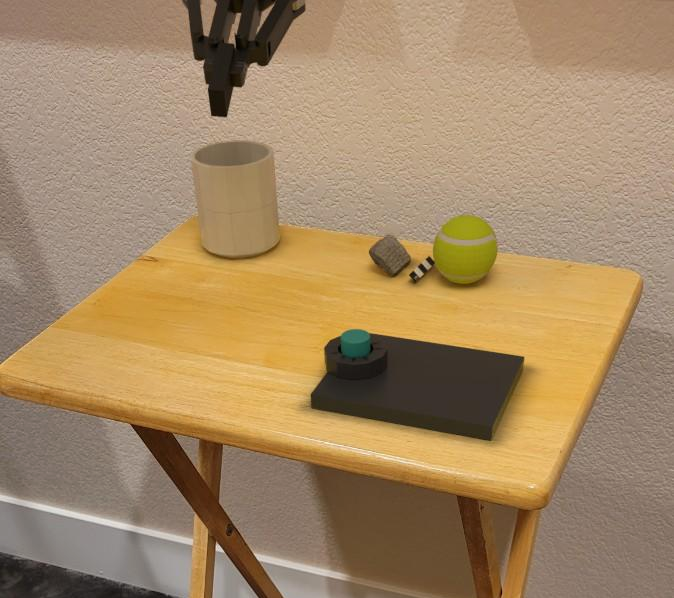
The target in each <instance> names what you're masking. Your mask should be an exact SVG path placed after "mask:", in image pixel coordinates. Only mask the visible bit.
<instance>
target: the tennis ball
mask: <svg viewBox="0 0 674 598" xmlns="http://www.w3.org/2000/svg"><path fill="white" fill-rule="evenodd" d="M498 249H499V248H498V239H497V236H496V232H495V231H494V229H493V228H492V226H491V225H490V224H489V223H488V222H487V221H486V220H485V219H483V218H481V217H479V216H476V215H473V214H472V215H471V214H462V215H458V216H455V217H453V218H451V219H449V220H448V221H446V222H445V223H444V224H443V225H442V227H441V228H440V229H439V230H438V231H437V233H436V235H435V238H434V241H433V246H432V257H433V258H432V259H433V261H434V262H435V264H434V265H435V267H436V268H437V269H438V271H439V273H440V274H441V275H442V276H443V277H444V278H445V279H446V280H448V281H450V282H452V283H454V284H459V285H468V284H472V283H475V282H478V281H479V280H481V279H483V278H484V277H485V276H486V275H488V273H489V272H490V270H492V268H493V267H494V265H495V262H496V260H497V256H498V251H499V250H498Z"/></svg>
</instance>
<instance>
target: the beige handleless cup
mask: <svg viewBox="0 0 674 598" xmlns="http://www.w3.org/2000/svg"><path fill="white" fill-rule="evenodd" d="M274 153H275V152H274V149H273V147H271V146H270V145H268V144H266V143H263V142H258V141H256V140H255V141H254V140H241V139H236V140H223V141H218V142H213V143H208V144H205V145H203V146H200V147H198V148H196V149H194V150H193V151H192V152H191V153H190V155H189V157H190V166H191V173H192V181H193V188H194V195H195V202H196V210H197V216H198V217H197V218H198V224H199V230H200V239H201V245H202V247H203V248H204V249H205V250H207V251H208V252H209V253H213V254H215V255H216V256H219V257H223V258H228V259H244V258H252V257H256V256H259V255H263V254H264V253H267V252H268V251H269V250H271V249H272V248H274V247H275V246H276V245H277V244H278V243H279V242H280V240H281V233H280V220H279V207H278V194H277V193H278V192H277V179H276V168H275V156H274V155H275V154H274Z"/></svg>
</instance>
